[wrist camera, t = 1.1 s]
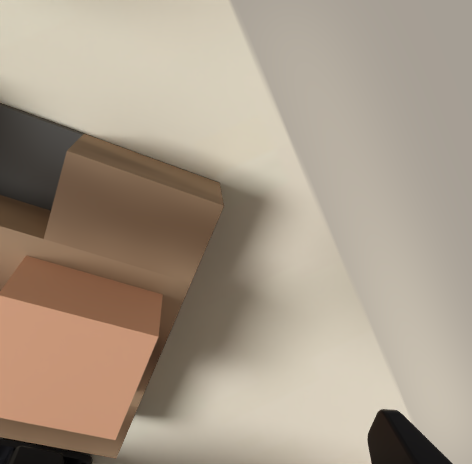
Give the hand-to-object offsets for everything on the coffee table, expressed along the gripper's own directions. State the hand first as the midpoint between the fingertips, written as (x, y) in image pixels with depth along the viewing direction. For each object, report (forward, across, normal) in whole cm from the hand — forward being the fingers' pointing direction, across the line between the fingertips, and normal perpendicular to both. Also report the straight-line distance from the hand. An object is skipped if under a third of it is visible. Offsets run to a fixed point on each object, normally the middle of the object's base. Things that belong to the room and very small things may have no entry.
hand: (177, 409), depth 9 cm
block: (+10, +4, +6) cm, 12 cm away
